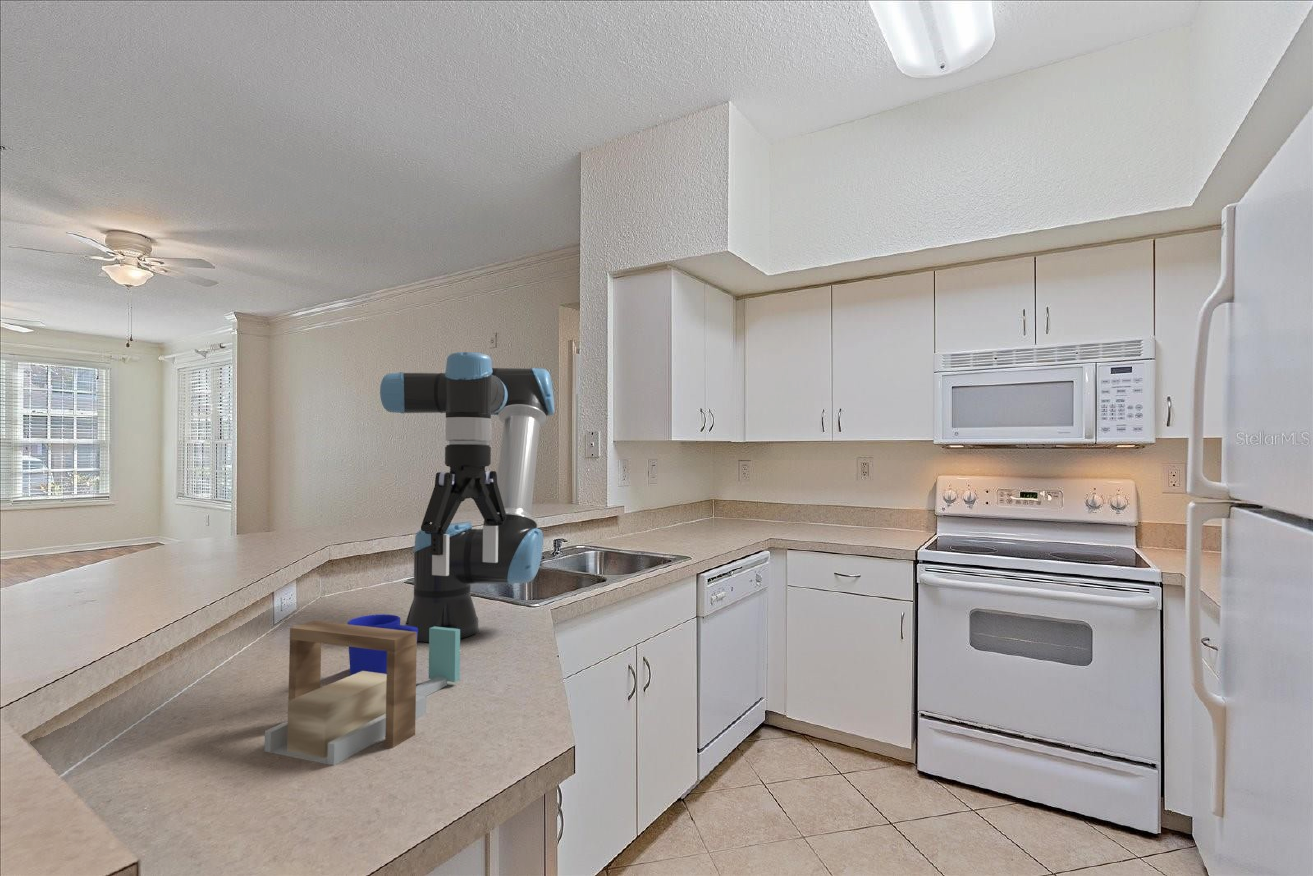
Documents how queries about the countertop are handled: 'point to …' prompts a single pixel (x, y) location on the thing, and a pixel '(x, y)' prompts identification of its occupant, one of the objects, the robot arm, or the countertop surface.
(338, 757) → the sled
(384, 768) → the countertop surface
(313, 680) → the tunnel
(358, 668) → the mug
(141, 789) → the countertop surface
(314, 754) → the bar
